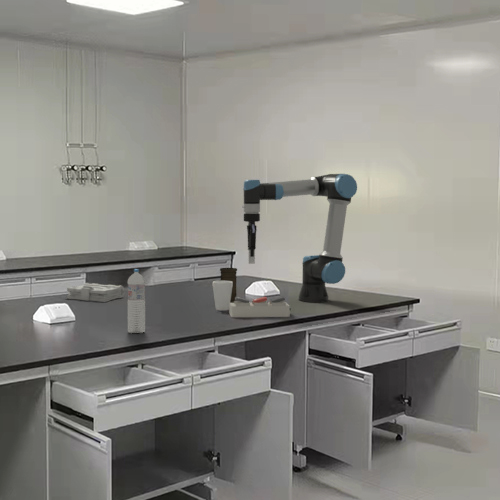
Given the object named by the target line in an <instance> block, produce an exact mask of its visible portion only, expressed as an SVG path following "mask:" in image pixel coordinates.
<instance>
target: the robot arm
mask: <svg viewBox="0 0 500 500" xmlns="http://www.w3.org/2000/svg"><path fill="white" fill-rule="evenodd" d="M357 191H358V184H357V181H356V179H355V177H353V175H350V174H347V173H329V174H324V175H320V176H319V175H318V176H311V177H310V178H309V179H299V180H285V181H276V182H275V181H274V182H264V183H263V182H262V183H261V182H260V179H245V180H244V182H243V205H242V208H243V212H244V213H243V222H247V224H248V225H246V229H247V230H246V231H247V250H248V264H249V265H251V264H255V263H256V261H255V260H256V255H255V254H256V247H257V246H256V244H257V243H256V241H257V239H256V238H257V231H258V230H257V225H256V222H257V223H258V222H260V220H261V219H260V218H261V214H260V212H261V201H279V200H281V199H283V198H288V197H297V196H308V195H311V196H312V197H326V198H327V199H326V200H327V202H328V203H329V208H328V213H327V220H326V226H325V227H326V228H325V233H324V234H325V235H324V240H323V242H324V243H323V249H322V252H320V253H319V254H318V255H304V256H303V258H302V262H301V263H302V280H301V281H302V285H301V287H300V291H299V295H298V301H300V302H306V303H323V302H324V303H325V302H328V301H329V294H328V290H327V287H326V284H329V285H330V284H332V285H334V284H338V283H340V282H342V280H343V279H344V277H345V274H346V266H345V265H344V263H343V256H342V254H341V249H342V244H343V236H344V228H345V223H346V216H347V208H348V206H349V204H351V202H352V198H353V197H354V196H355V195H356V193H357Z"/></svg>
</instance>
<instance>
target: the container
mask: <svg viewBox="0 0 500 500" xmlns="http://www.w3.org/2000/svg"><path fill="white" fill-rule="evenodd" d="M219 271H220V272H219V273H220V281H232V282H233V287H232V293H231V300H230V303H234V301H236V300H235V297H237V271H238V268H237V267H221V268H219Z"/></svg>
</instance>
